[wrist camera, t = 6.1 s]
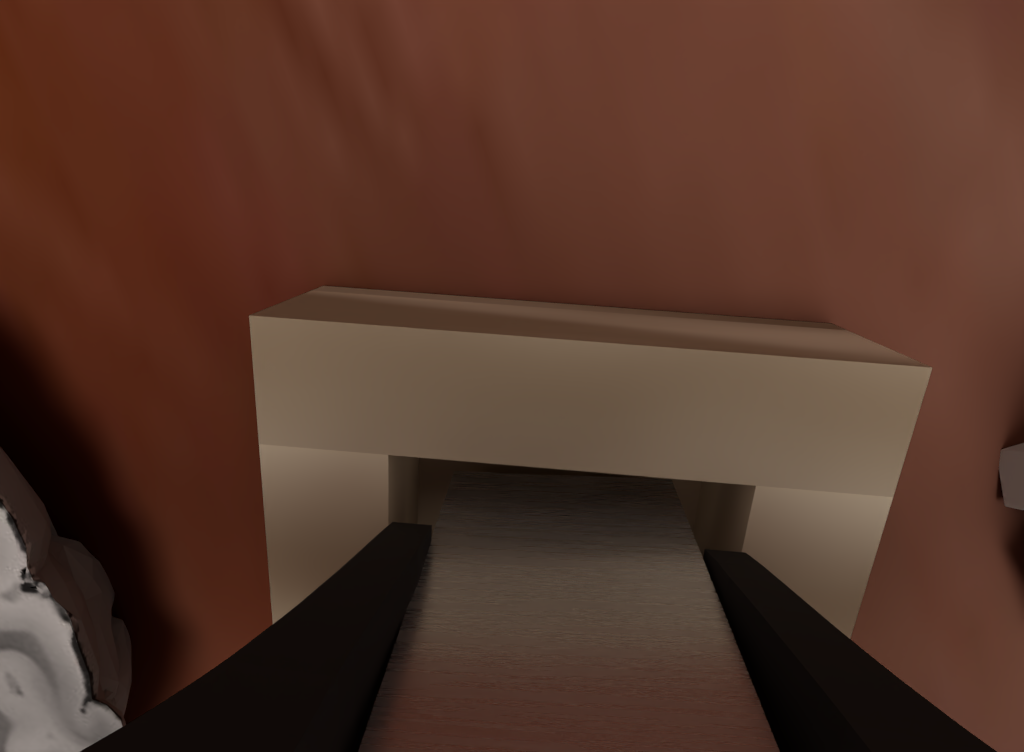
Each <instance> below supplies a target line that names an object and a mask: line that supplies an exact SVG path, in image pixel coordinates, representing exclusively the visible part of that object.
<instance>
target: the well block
mask: <svg viewBox="0 0 1024 752" xmlns="http://www.w3.org/2000/svg"><path fill="white" fill-rule="evenodd" d="M249 321H250V334H251V347H252V360H253V373H254V386H255V399H256V412H257V425H258V438H259V451H260V464H261V477H262V490H263V503H264V516H265V529H266V542H267V555H268V568H269V581H270V594H271V607H272V620H273V624H274V623H275V622H276V621H278V620H279V619H280V618H282V617H283V616H284V615H285V614H287V613H288V612H289V611H291V610H292V609H293V608H294V607H295V606H297V605H298V604H299V603H300V602H301V601H303V600H304V599H305V598H306V597H307V596H309V595H310V594H311V593H312V592H313V591H314V590H316V589H317V588H318V587H319V586H320V585H321V584H323V583H324V582H325V581H326V580H327V579H329V578H330V577H331V576H332V575H333V574H334V573H336V572H337V571H338V570H339V569H340V568H341V567H342V566H343V565H344V564H346V563H347V562H348V561H349V560H350V559H351V558H352V557H353V556H355V555H356V554H357V553H358V552H359V551H360V550H361V549H362V548H363V547H364V546H366V545H367V544H368V543H369V542H370V541H371V540H372V539H373V538H374V537H375V536H377V535H378V534H379V533H380V532H381V531H382V530H383V529H384V528H386V527H387V526H388V525H389V524H391V523H392V522H401V523H413V524H424V525H432V534H433V531H434V529H435V526H436V523H437V520H438V517H439V514H440V511H441V508H442V505H443V502H444V499H445V496H446V494H447V491H448V488H449V485H450V482H451V479H452V476H453V473H454V471H465V472H491V473H517V474H544V475H570V476H596V477H623V478H649V479H672V482H673V485H674V487H675V490H676V492H677V495H678V497H679V500H680V502H681V505H682V507H683V510H684V512H685V515H686V517H687V520H688V522H689V525H690V527H691V530H692V532H693V535H694V537H695V540H696V542H697V545H698V547H699V550H700V552H701V555H702V557H703V555H704V550H705V549H710V550H722V551H733V552H745V553H747V554H748V555H750V556H751V557H752V558H754V559H755V560H756V561H758V562H759V563H760V564H761V565H763V566H764V567H765V568H766V569H767V570H769V571H770V572H771V573H772V574H773V575H775V576H776V577H777V578H778V579H779V580H781V581H782V582H783V583H784V584H785V585H787V586H788V587H789V588H790V589H791V590H792V591H794V592H795V593H796V594H797V595H798V596H799V597H801V598H802V599H803V600H804V601H805V602H807V603H808V604H809V605H810V606H811V607H812V608H814V609H815V610H816V611H817V612H818V613H819V614H821V615H822V616H823V617H824V618H825V619H827V620H828V621H829V622H830V623H831V624H833V625H834V626H835V627H836V628H837V629H838V630H840V631H841V632H842V633H843V634H845V635H846V636H847V637H848V638H849V639H850V638H851V635H852V631H853V628H854V625H855V621H856V618H857V615H858V612H859V608H860V605H861V602H862V598H863V595H864V592H865V588H866V585H867V582H868V579H869V575H870V572H871V569H872V565H873V562H874V559H875V555H876V552H877V549H878V546H879V542H880V539H881V536H882V532H883V529H884V526H885V522H886V519H887V516H888V513H889V509H890V506H891V503H892V499H893V496H894V493H895V489H896V486H897V483H898V480H899V476H900V473H901V470H902V466H903V463H904V460H905V456H906V453H907V450H908V447H909V443H910V440H911V437H912V433H913V430H914V427H915V424H916V420H917V417H918V414H919V410H920V407H921V404H922V400H923V397H924V394H925V391H926V387H927V384H928V381H929V377H930V374H931V371H932V367H930V366H928V365H925V364H923V363H921V362H918V361H916V360H914V359H912V358H909V357H907V356H905V355H902V354H900V353H898V352H896V351H893V350H891V349H889V348H887V347H884V346H882V345H880V344H877V343H875V342H873V341H871V340H868V339H866V338H864V337H861V336H859V335H857V334H855V333H852V332H850V331H848V330H845V329H843V328H841V327H839V326H836V325H834V324H832V323H819V322H806V321H792V320H779V319H765V318H752V317H738V316H725V315H711V314H698V313H684V312H671V311H657V310H644V309H630V308H617V307H603V306H590V305H576V304H563V303H549V302H536V301H523V300H509V299H496V298H482V297H469V296H455V295H442V294H428V293H415V292H401V291H388V290H374V289H361V288H347V287H334V286H322V287H319V288H317V289H314V290H312V291H309V292H307V293H304V294H302V295H299V296H297V297H294V298H292V299H289V300H287V301H284V302H282V303H279V304H277V305H274V306H272V307H269V308H267V309H264V310H262V311H259V312H257V313H254V314H252V315H249Z"/></svg>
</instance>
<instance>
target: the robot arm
mask: <svg viewBox="0 0 1024 752" xmlns="http://www.w3.org/2000/svg"><path fill="white" fill-rule="evenodd" d="M431 538H432V525H424V524H413V523H401V522H392V523H391V524H389V525H388V526H387V527H386V528H384V529H383V530H382V531H381V532H380V533H379V534H378V535H377V536H375V537H374V538H373V539H372V540H371V541H370V542H369V543H368V544H367V545H366V546H364V547H363V548H362V549H361V550H360V551H359V552H358V553H357V554H356V555H355V556H353V557H352V558H351V559H350V560H349V561H348V562H347V563H346V564H344V565H343V566H342V567H341V568H340V569H339V570H338V571H337V572H336V573H334V574H333V575H332V576H331V577H330V578H329V579H327V580H326V581H325V582H324V583H323V584H321V585H320V586H319V587H318V588H317V589H316V590H314V591H313V592H312V593H311V594H310V595H309V596H307V597H306V598H305V599H304V600H303V601H301V602H300V603H299V604H298V605H297V606H295V607H294V608H293V609H292V610H291V611H289V612H288V613H287V614H285V615H284V616H283V617H282V618H280V619H279V620H278V621H276V622H275V623H274V624H273V625H271V626H270V627H269V628H267V629H266V630H265V631H263V632H262V633H261V634H260V635H258V636H257V637H256V638H254V639H253V640H252V641H251V642H249V643H248V644H247V645H245V646H244V647H243V648H241V649H240V650H239V651H237V652H236V653H235V654H233V655H232V656H231V657H229V658H228V659H226V660H225V661H224V662H222V663H221V664H219V665H218V666H216V667H215V668H214V669H212V670H211V671H209V672H208V673H206V674H205V675H203V676H202V677H200V678H199V679H197V680H196V681H194V682H193V683H191V684H190V685H188V686H187V687H185V688H184V689H182V690H181V691H179V692H178V693H176V694H174V695H173V696H171V697H170V698H168V699H167V700H165V701H164V702H162V703H161V704H159V705H158V706H156V707H155V708H153V709H151V710H150V711H148V712H146V713H145V714H143V715H142V716H140V717H138V718H137V719H135V720H134V721H132V722H130V723H128V724H127V725H125V726H123V727H121V728H120V729H118V730H116V731H115V732H113V733H111V734H109V735H108V736H106V737H104V738H102V739H101V740H99V741H97V742H96V743H94V744H92V745H90V746H89V747H87V748H85V749H83V750H82V751H80V752H358V751H359V748H360V745H361V742H362V739H363V736H364V733H365V730H366V727H367V724H368V721H369V719H370V716H371V713H372V710H373V707H374V704H375V701H376V698H377V695H378V692H379V689H380V686H381V683H382V681H383V678H384V675H385V672H386V669H387V666H388V663H389V660H390V657H391V654H392V651H393V648H394V645H395V643H396V640H397V637H398V634H399V631H400V628H401V625H402V622H403V619H404V616H405V613H406V610H407V607H408V605H409V603H410V600H411V598H412V596H413V594H414V592H415V589H416V587H417V585H418V582H419V578H420V575H421V572H422V569H423V566H424V563H425V559H426V556H427V553H428V550H429V547H430V544H431ZM703 560H704V562H705V565H706V568H707V570H708V573H709V575H710V578H711V580H712V583H713V585H714V588H715V590H716V593H717V595H718V598H719V600H720V603H721V605H722V608H723V610H724V613H725V615H726V618H727V620H728V623H729V625H730V628H731V630H732V633H733V635H734V638H735V640H736V643H737V645H738V648H739V651H740V653H741V656H742V658H743V661H744V663H745V666H746V668H747V671H748V673H749V676H750V678H751V681H752V683H753V686H754V688H755V691H756V693H757V696H758V698H759V701H760V703H761V706H762V708H763V711H764V713H765V716H766V718H767V721H768V723H769V726H770V729H771V731H772V734H773V736H774V739H775V741H776V744H777V746H778V749H779V751H780V752H997V751H995V750H994V749H992V748H991V747H990V746H988V745H987V744H985V743H984V742H983V741H981V740H980V739H978V738H977V737H976V736H974V735H973V734H971V733H970V732H969V731H967V730H966V729H965V728H963V727H962V726H961V725H959V724H958V723H957V722H955V721H954V720H953V719H951V718H950V717H949V716H947V715H946V714H945V713H943V712H942V711H941V710H939V709H938V708H937V707H935V706H934V705H933V704H932V703H930V702H929V701H928V700H926V699H925V698H924V697H922V696H921V695H920V694H918V693H917V692H916V691H914V690H913V689H912V688H910V687H909V686H908V685H907V684H905V683H904V682H903V681H901V680H900V679H899V678H898V677H896V676H895V675H894V674H893V673H891V672H890V671H889V670H888V669H886V668H885V667H884V666H883V665H881V664H880V663H879V662H877V661H876V660H875V659H874V658H873V657H871V656H870V655H869V654H868V653H866V652H865V651H864V650H863V649H861V648H860V647H859V646H858V645H857V644H855V643H854V642H853V641H852V640H851V639H849V638H848V637H847V636H846V635H845V634H843V633H842V632H841V631H840V630H838V629H837V628H836V627H835V626H834V625H833V624H831V623H830V622H829V621H828V620H827V619H825V618H824V617H823V616H822V615H821V614H819V613H818V612H817V611H816V610H815V609H814V608H812V607H811V606H810V605H809V604H808V603H807V602H805V601H804V600H803V599H802V598H801V597H799V596H798V595H797V594H796V593H795V592H794V591H792V590H791V589H790V588H789V587H788V586H787V585H785V584H784V583H783V582H782V581H781V580H779V579H778V578H777V577H776V576H775V575H773V574H772V573H771V572H770V571H769V570H767V569H766V568H765V567H764V566H763V565H761V564H760V563H759V562H758V561H756V560H755V559H754V558H752V557H751V556H750V555H748V554H747V553H745V552H733V551H722V550H710V549H705V550H704V555H703Z"/></svg>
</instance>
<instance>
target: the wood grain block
mask: <svg viewBox="0 0 1024 752" xmlns="http://www.w3.org/2000/svg"><path fill="white" fill-rule="evenodd" d="M358 752H780V751H779V749H778V746H777V744H776V741H775V739H774V736H773V734H772V731H771V729H770V726H769V723H768V721H767V718H766V716H765V713H764V711H763V708H762V706H761V703H760V701H759V698H758V696H757V693H756V691H755V688H754V686H753V683H752V681H751V678H750V676H749V673H748V671H747V668H746V666H745V663H744V661H743V658H742V656H741V653H740V651H739V648H738V645H737V643H736V640H735V638H734V635H733V633H732V630H731V628H730V625H729V623H728V620H727V618H726V615H725V613H724V610H723V608H722V605H721V603H720V600H719V598H718V595H717V593H716V590H715V588H714V585H713V583H712V580H711V578H710V575H709V573H708V570H707V568H706V565H705V562H704V560H703V557H702V555H701V552H700V550H699V547H698V545H697V542H696V540H695V537H694V535H693V532H692V530H691V527H690V525H689V522H688V520H687V517H686V515H685V512H684V510H683V507H682V505H681V502H680V500H679V497H678V495H677V492H676V490H675V487H674V485H673V482H672V479H649V478H623V477H596V476H570V475H544V474H517V473H491V472H465V471H454V473H453V476H452V479H451V482H450V485H449V488H448V491H447V494H446V496H445V499H444V502H443V505H442V508H441V511H440V514H439V517H438V520H437V523H436V526H435V529H434V531H433V534H432V538H431V544H430V547H429V550H428V553H427V556H426V559H425V563H424V566H423V569H422V572H421V575H420V578H419V582H418V585H417V587H416V589H415V592H414V594H413V596H412V598H411V600H410V603H409V605H408V607H407V610H406V613H405V616H404V619H403V622H402V625H401V628H400V631H399V634H398V637H397V640H396V643H395V645H394V648H393V651H392V654H391V657H390V660H389V663H388V666H387V669H386V672H385V675H384V678H383V681H382V683H381V686H380V689H379V692H378V695H377V698H376V701H375V704H374V707H373V710H372V713H371V716H370V719H369V721H368V724H367V727H366V730H365V733H364V736H363V739H362V742H361V745H360V748H359V751H358Z"/></svg>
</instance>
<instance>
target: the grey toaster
mask: <svg viewBox="0 0 1024 752" xmlns="http://www.w3.org/2000/svg"><path fill="white" fill-rule="evenodd" d="M999 473H1000V480H1001V486H1002V492H1003V498H1004V505H1005V506H1006V507H1010V508H1015V509H1020V510H1024V443H1021V444H1018V445H1014V446H1011V447H1008V448H1004V449H1001V453H1000V462H999Z"/></svg>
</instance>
